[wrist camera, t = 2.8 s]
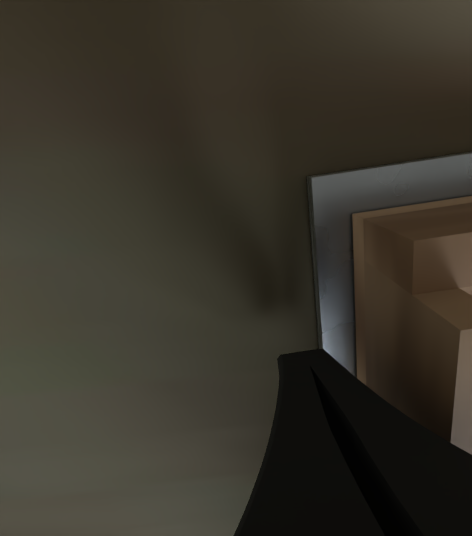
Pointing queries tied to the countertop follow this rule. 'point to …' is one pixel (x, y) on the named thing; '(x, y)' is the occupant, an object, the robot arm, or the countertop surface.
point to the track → (341, 231)
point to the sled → (417, 312)
